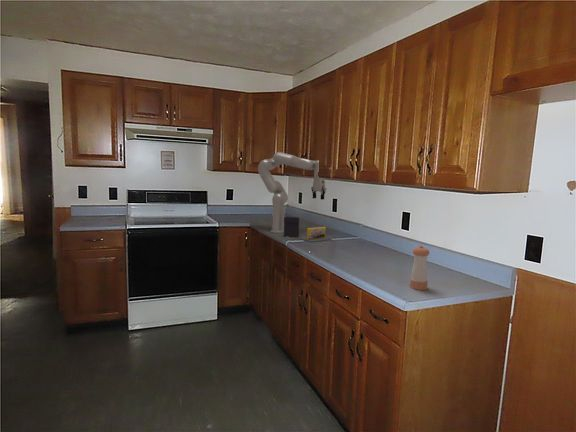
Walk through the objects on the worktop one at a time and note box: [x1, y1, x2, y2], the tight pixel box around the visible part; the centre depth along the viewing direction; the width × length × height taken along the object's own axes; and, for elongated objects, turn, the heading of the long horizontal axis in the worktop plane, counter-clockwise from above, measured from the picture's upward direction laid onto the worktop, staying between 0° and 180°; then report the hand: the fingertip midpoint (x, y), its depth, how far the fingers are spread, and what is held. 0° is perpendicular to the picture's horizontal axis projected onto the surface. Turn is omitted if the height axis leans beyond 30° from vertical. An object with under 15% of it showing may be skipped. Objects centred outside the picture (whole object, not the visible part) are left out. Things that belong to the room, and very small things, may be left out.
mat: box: [300, 236, 332, 244], centre depth 268 cm, size 12×19×1 cm, turn 124°
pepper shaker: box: [409, 245, 430, 291], centre depth 164 cm, size 7×7×19 cm
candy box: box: [306, 226, 327, 240], centre depth 267 cm, size 16×2×8 cm, turn 124°
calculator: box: [283, 216, 300, 238], centre depth 277 cm, size 11×4×15 cm, turn 76°
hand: (318, 198), depth 283 cm, fingers open, 9 cm apart
